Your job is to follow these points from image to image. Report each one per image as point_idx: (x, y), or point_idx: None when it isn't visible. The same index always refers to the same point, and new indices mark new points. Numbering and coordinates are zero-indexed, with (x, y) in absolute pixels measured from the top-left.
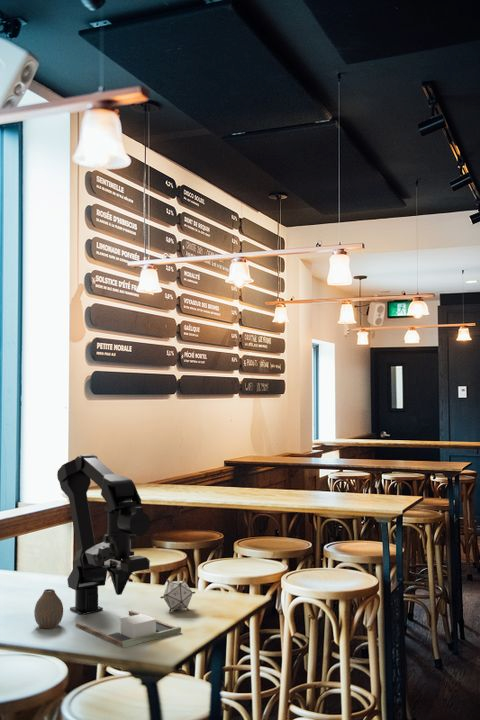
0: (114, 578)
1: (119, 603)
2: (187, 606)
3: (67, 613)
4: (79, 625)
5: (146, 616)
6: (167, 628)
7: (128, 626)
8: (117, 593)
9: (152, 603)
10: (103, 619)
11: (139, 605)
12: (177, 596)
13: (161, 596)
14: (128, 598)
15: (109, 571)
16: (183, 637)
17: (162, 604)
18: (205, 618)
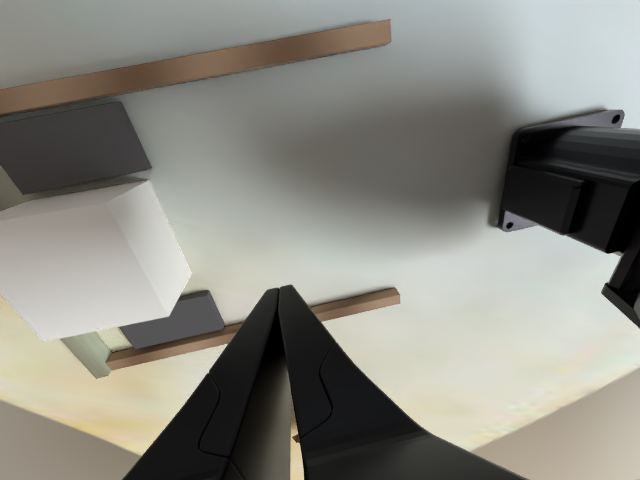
0: (291, 389)
1: (518, 296)
2: None
3: (584, 78)
4: (348, 28)
5: (108, 320)
6: (141, 343)
7: (33, 209)
8: (270, 293)
9: (444, 366)
10: (397, 191)
11: (454, 336)
12: None
13: None
14: (537, 329)
15: (370, 464)
16: (45, 357)
17: (417, 382)
18: None
